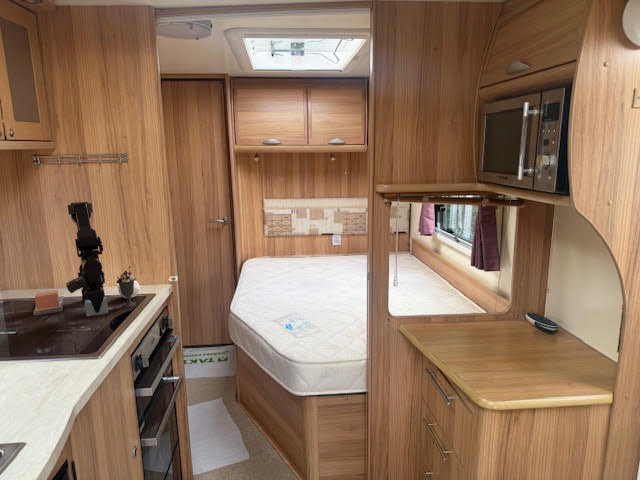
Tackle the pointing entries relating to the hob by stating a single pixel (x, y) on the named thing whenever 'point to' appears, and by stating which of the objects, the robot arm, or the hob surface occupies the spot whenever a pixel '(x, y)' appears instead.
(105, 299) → the slate brick
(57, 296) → the terracotta brick
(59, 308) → the build plate
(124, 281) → the sundae
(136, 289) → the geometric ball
